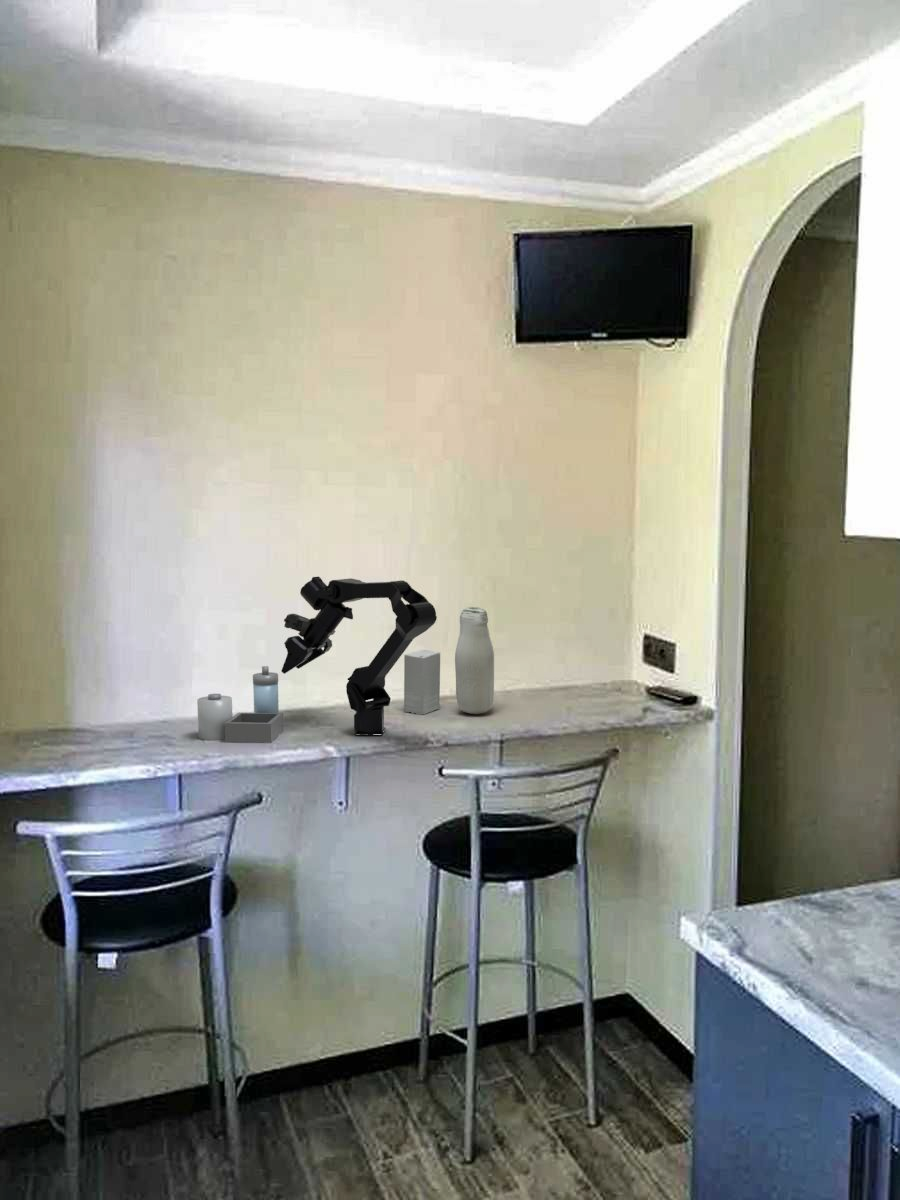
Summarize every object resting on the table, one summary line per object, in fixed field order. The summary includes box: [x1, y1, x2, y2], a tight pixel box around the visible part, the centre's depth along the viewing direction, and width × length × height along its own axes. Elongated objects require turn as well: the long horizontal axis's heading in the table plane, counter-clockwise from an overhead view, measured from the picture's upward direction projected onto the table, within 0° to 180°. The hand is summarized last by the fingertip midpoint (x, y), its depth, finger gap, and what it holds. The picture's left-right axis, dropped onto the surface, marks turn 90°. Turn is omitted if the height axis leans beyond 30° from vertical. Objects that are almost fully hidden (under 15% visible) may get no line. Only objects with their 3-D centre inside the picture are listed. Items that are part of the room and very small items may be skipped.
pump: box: [252, 665, 280, 713], centre depth 236 cm, size 6×6×15 cm
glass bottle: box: [454, 606, 495, 715], centre depth 247 cm, size 10×10×28 cm
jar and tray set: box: [197, 693, 284, 743], centre depth 226 cm, size 19×11×10 cm, turn 85°
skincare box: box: [403, 649, 441, 715], centre depth 251 cm, size 8×7×16 cm
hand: (290, 670), depth 237 cm, fingers open, 9 cm apart
